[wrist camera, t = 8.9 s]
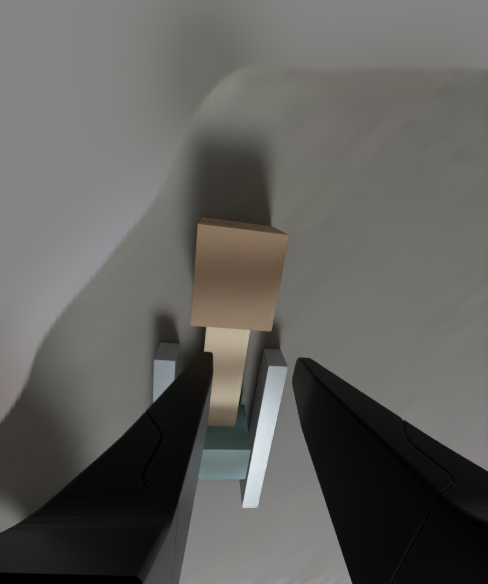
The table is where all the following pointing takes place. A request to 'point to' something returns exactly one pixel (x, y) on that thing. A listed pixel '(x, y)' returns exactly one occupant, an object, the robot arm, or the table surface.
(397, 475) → the robot arm
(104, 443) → the table surface
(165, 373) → the channel
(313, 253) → the table surface
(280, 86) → the table surface
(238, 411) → the push rod
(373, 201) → the table surface
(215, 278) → the block
